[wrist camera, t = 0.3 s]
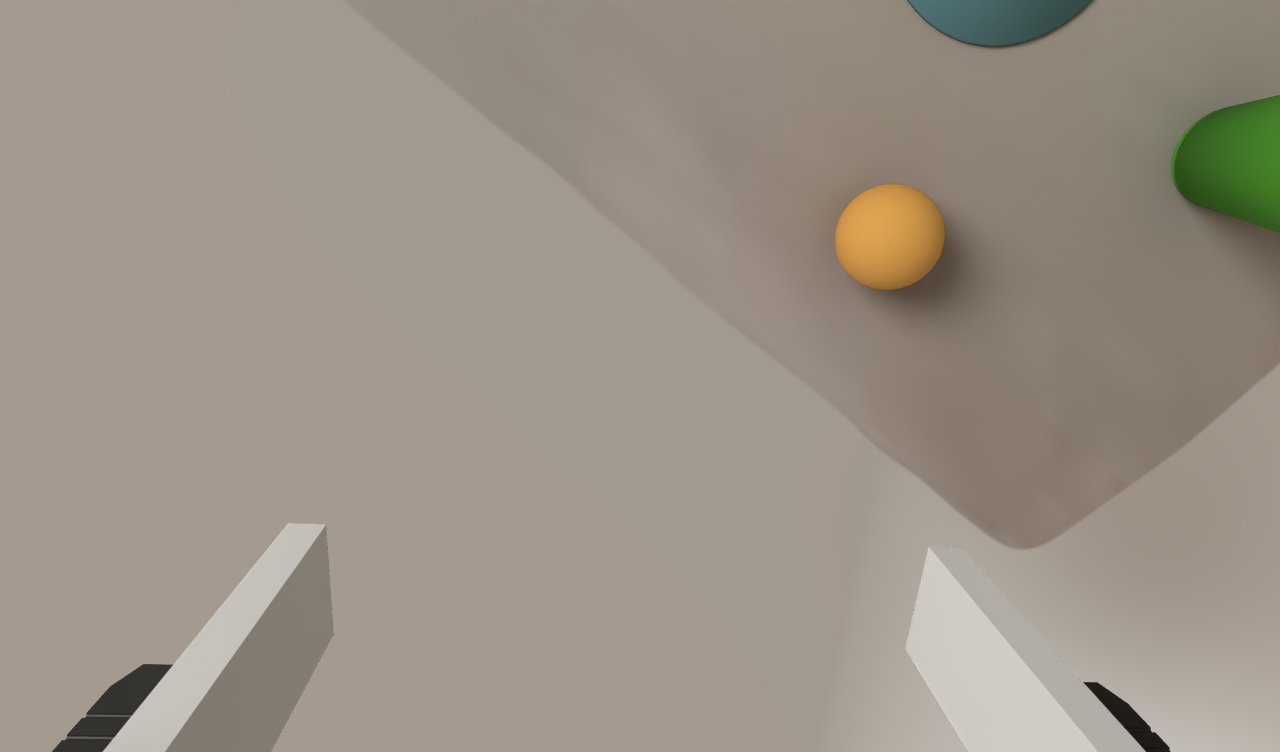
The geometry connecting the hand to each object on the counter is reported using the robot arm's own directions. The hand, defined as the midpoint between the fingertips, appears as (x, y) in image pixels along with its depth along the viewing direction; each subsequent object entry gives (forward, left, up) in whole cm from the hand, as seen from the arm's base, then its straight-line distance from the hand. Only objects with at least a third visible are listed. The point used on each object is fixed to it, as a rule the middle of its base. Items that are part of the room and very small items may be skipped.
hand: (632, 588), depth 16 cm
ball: (-9, +12, -24) cm, 28 cm away
